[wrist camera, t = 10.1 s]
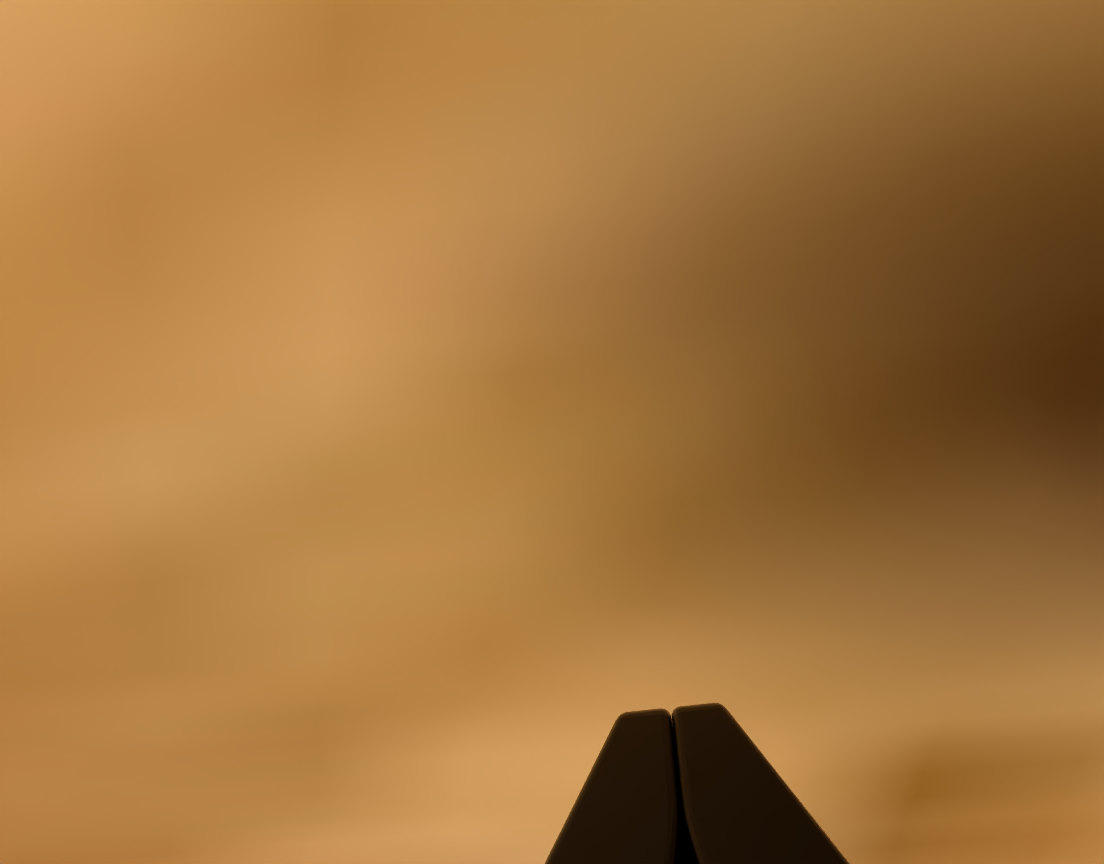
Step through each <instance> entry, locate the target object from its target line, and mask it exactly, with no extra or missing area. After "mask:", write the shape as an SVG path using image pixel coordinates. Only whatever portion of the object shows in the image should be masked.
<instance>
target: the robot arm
mask: <svg viewBox="0 0 1104 864" xmlns="http://www.w3.org/2000/svg"><path fill="white" fill-rule="evenodd" d="M672 725H673V726H672ZM545 864H849V862H848V861H847V860H846V859H845V857H844V856H843V855H842V854H841V852H840V851H839V850H838V849H837V847H836V846H835V845H834V844H833V842H832V841H831V840H830V838H829V837H828V836H827V835H826V833H825V832H824V831H823V830H822V828H821V827H820V826H819V825H818V823H817V822H816V821H815V820H814V818H813V817H812V816H811V815H810V813H809V812H808V811H807V810H806V808H805V807H804V806H803V804H802V803H801V802H800V801H799V799H798V798H797V797H796V796H795V794H794V793H793V792H792V791H791V789H790V788H789V787H788V786H787V784H786V783H785V782H784V781H783V779H782V778H781V777H780V776H779V774H778V773H777V772H776V770H775V769H774V768H773V767H772V765H771V764H770V763H769V762H768V760H767V759H766V758H765V757H764V755H763V754H762V753H761V752H760V750H759V749H758V748H757V747H756V745H755V744H754V743H753V741H752V740H751V739H750V738H749V736H748V735H747V734H746V733H745V731H744V730H743V729H742V728H741V726H740V725H739V724H738V723H737V721H736V720H735V719H734V718H733V716H732V715H731V714H730V713H729V711H728V710H727V709H726V708H725V707H724V706H723V705H721V704H718V703H709V704H700V705H690V706H680V707H677V708H676V709H674V711H673V713H672V719H671V715H670V713H669V712H668V711H667V710H665V709H652V710H642V711H633V712H625V713H623V714H621V715H620V716H619V717H618V718H617V720H616V721H615V723H614V725H613V727H612V729H611V731H610V733H609V735H608V737H607V739H606V741H605V743H604V745H603V747H602V749H601V751H600V753H599V755H598V757H597V759H596V761H595V763H594V765H593V767H592V769H591V772H590V774H589V776H588V778H587V780H586V782H585V784H584V786H583V788H582V790H581V792H580V794H579V796H578V798H577V800H576V802H575V804H574V806H573V808H572V810H571V812H570V814H569V816H568V818H567V820H566V822H565V824H564V826H563V828H562V830H561V832H560V834H559V836H558V838H557V840H556V842H555V844H554V846H553V848H552V850H551V852H550V854H549V856H548V858H547V860H546V862H545Z"/></svg>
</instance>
